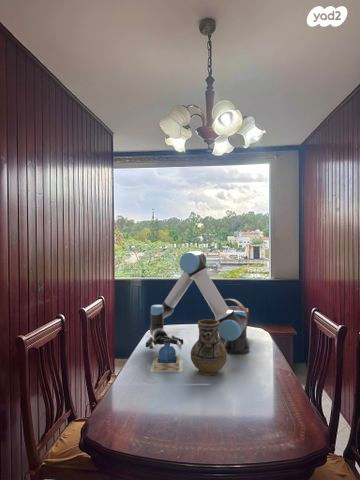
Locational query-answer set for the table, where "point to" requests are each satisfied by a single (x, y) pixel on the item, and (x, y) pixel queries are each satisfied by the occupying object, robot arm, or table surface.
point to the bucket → (240, 308)
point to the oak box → (166, 364)
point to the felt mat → (168, 370)
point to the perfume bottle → (167, 353)
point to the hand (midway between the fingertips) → (167, 348)
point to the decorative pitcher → (208, 348)
